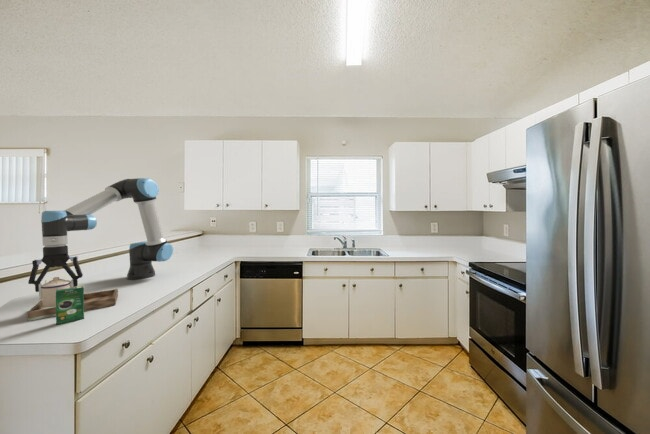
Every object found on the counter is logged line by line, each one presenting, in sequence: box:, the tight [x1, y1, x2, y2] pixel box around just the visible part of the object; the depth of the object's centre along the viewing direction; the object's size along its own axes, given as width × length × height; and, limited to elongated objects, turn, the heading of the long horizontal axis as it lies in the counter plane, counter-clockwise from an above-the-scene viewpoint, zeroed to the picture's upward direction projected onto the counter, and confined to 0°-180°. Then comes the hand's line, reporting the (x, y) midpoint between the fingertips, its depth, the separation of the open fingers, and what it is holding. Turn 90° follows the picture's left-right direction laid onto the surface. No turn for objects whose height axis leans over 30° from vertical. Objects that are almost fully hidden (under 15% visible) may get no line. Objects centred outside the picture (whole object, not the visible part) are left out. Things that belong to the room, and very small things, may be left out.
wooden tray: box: [26, 288, 119, 322], centre depth 116 cm, size 27×17×4 cm, turn 126°
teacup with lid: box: [41, 276, 71, 307], centre depth 113 cm, size 12×9×12 cm
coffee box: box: [55, 285, 85, 325], centre depth 101 cm, size 8×3×13 cm, turn 136°
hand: (57, 296), depth 112 cm, fingers closed on teacup with lid, 9 cm apart
